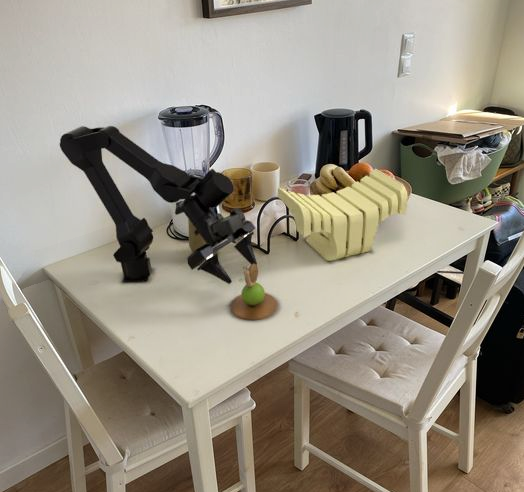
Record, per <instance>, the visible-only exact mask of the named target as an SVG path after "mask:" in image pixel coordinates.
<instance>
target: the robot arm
mask: <svg viewBox="0 0 524 492" xmlns="http://www.w3.org/2000/svg"><path fill="white" fill-rule="evenodd" d="M59 139H60V140H59V144H58V145H59V147H60V150H61V152H62V153H63V155H64V156H65V157H66V158H67V160H68V161H69V162H70V164H72V165H73V166H75V167H76V168H78V169H79V170H80V171H82V172H83V173H84V175H85V176H86V178H87V180H88V181H89V183H90V185H91V186H92V188H93V190H94V191H95V193H96V194H97V196H98V198H99V200H100V201H101V203H102V205H103V206H104V208H105V210H106V212H107V213H108V215H109V216H110V218H111V220H112V221H113V223H114V226H115V235H116V236H115V237H116V240H117V242H118V244H119V247H118V249H117V250H116V251H115V252H114V253H113V255H112V256H113V258H114V259H115V261H116V262H117V263H120V265H121V270H122V275H123V277H122V280H121V281H122V283H142V282H145V283H146V282H148V280H149V278H150V276H151V275H152V271H153V269H152V265H151V259H150V258H151V257H148V254H147V251H148V250H150V246H151V245H152V243H153V241H154V234H153V232H154V230H153V229H152V228H151V226H150V225H149V223H148V220H147V219H146V218H145V217H143V218H141V219H140V218H138V217H137V216H136V215H134V214H133V212H132V210H131V208H130V207H129V205H128V203H127V201H126V200H125V198H124V197H123V195H122V193H121V192H120V189H119V188H118V186H117V184H116V182H115V181H114V178H113V177H112V176H111V173H110V172H109V170H108V169H107V167H106V164H104V161H103V149H104V150H107V152H109V153H111V154H112V155H113V156H114V157H116V158H117V159H119V161H122V162H123V163H125V165H127V166H128V167H130V168H131V169H132V170H134V171H136V172H137V173H138V174H139V175H141V176H142V177H144V178H145V179H146V180H147V181H148V182H149V184H150V185H151V187H152V190H153V192H155V193H156V194H157V195H158V196H159V197H160V198H161V199H162V200H163V201H165V202H167V203H169V204H172V203H175V209H174V214H175V216H178V215H181V214H183V213H184V215H185V216H186V217H187V219H189V220H190V222H191V223H192V224H193V226H194V227H195V229H196V230H195V231H194V233H195V235H196V236H197V235H199V234H200V236H201V237H202V238H203V240H204V241H205V243H206V244H205V245H203V246H201V247H200V248H198V249H196V250H195V251H194V252H191V254H189V256H187V258H186V261H187V265H188V266H189V268H190V269H191V271H193V270H195V269H196V270H197V271H198V272H199V271H200V270H201V271H203V272H206V273H207V274H210V275H211V276H214V277H215V278H217V279H219V280H221V281H222V282H225V283H226V284H228V285H230V284H232V282H233V280H232V278H231V276H229V274H228V273H227V271H226V270H225V268H224V267H223V265H222V264H221V262H220V260H219V255H218V253H217V252H218V251H219V250H221V249H223V248H224V247H226V246H228V245H229V244H231V243H232V244H235V245H234V246H233V248H234V249H235V250H236V251H237V252H238V253H239V254H240V255H241V256H242V257H243V258H244V259H245V260H246V261H247V262H248V263H249V264H250V265H251V264H256V265H257V266H258V262H257V258H256V256H255V252H254V249H253V244H252V238H253V235H254V234H255V232H254V230H255V229H256V226H255V225H254V223H253V222H252V221H251V220H246V216H245V213H244V212H243V210H242V209H241V208H239V207H235V208H233V209H232V210H230V211H229V215H227V216H225V217H224V216H223V215H222V213H220V212H218V213H215V211H214V210H213V209H215V208H217V207H219V206H220V205H221V204H223V202H224V201H225V200H226V199H227V198H229V196H231V195H232V194H233V193H234V191H235V186H234V184H233V182H232V180H231V179H230V178H229V177H228V176H227V175H225V174H223V173H222V172H219V171H218V172H217V171H216V170H215V169H214V168H211V169H210V170H208V171H207V172H206V173H205V175H204V177H203V178H202V177H198V176H195V175H190V174H188V172H187V171H185V170H183V169H181V168H179V167H177V166H175V165H172V164H168V163H165V162H162V161H160V160H158V159H157V158H156V157H154V156H153V155H152V154H150V153H149V152H148V151H146V150H145V149H143V148H142V147H141V146H139V145H138V144H136V142H134V141H133V140H131V139H129V137H128V136H125V135H124V134H123V133H122V132H121V131H120V130H119V129H118V128H117V127H116V126H113V125H108V126H105V127H104V126H103V127H102V126H98V127H92V128H91V127H87V126H85V125H84V126H82V125H81V126H79V127H76V128H74V129H72V130H70V131H68V132H66V133H63V134H62V135H61V136H60V138H59ZM216 244H217V245H216ZM215 252H216V254H215V255H213V253H215Z"/></svg>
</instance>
